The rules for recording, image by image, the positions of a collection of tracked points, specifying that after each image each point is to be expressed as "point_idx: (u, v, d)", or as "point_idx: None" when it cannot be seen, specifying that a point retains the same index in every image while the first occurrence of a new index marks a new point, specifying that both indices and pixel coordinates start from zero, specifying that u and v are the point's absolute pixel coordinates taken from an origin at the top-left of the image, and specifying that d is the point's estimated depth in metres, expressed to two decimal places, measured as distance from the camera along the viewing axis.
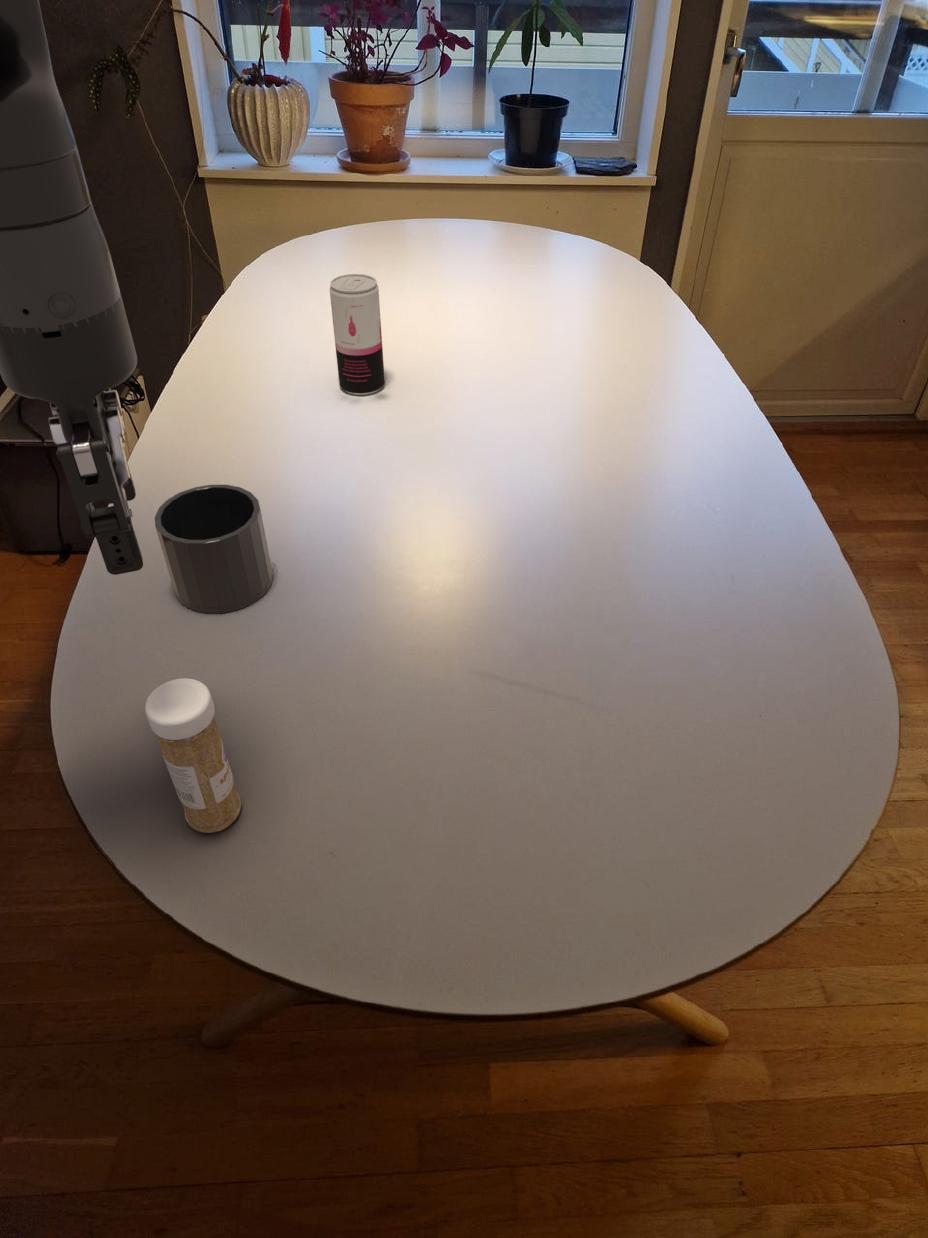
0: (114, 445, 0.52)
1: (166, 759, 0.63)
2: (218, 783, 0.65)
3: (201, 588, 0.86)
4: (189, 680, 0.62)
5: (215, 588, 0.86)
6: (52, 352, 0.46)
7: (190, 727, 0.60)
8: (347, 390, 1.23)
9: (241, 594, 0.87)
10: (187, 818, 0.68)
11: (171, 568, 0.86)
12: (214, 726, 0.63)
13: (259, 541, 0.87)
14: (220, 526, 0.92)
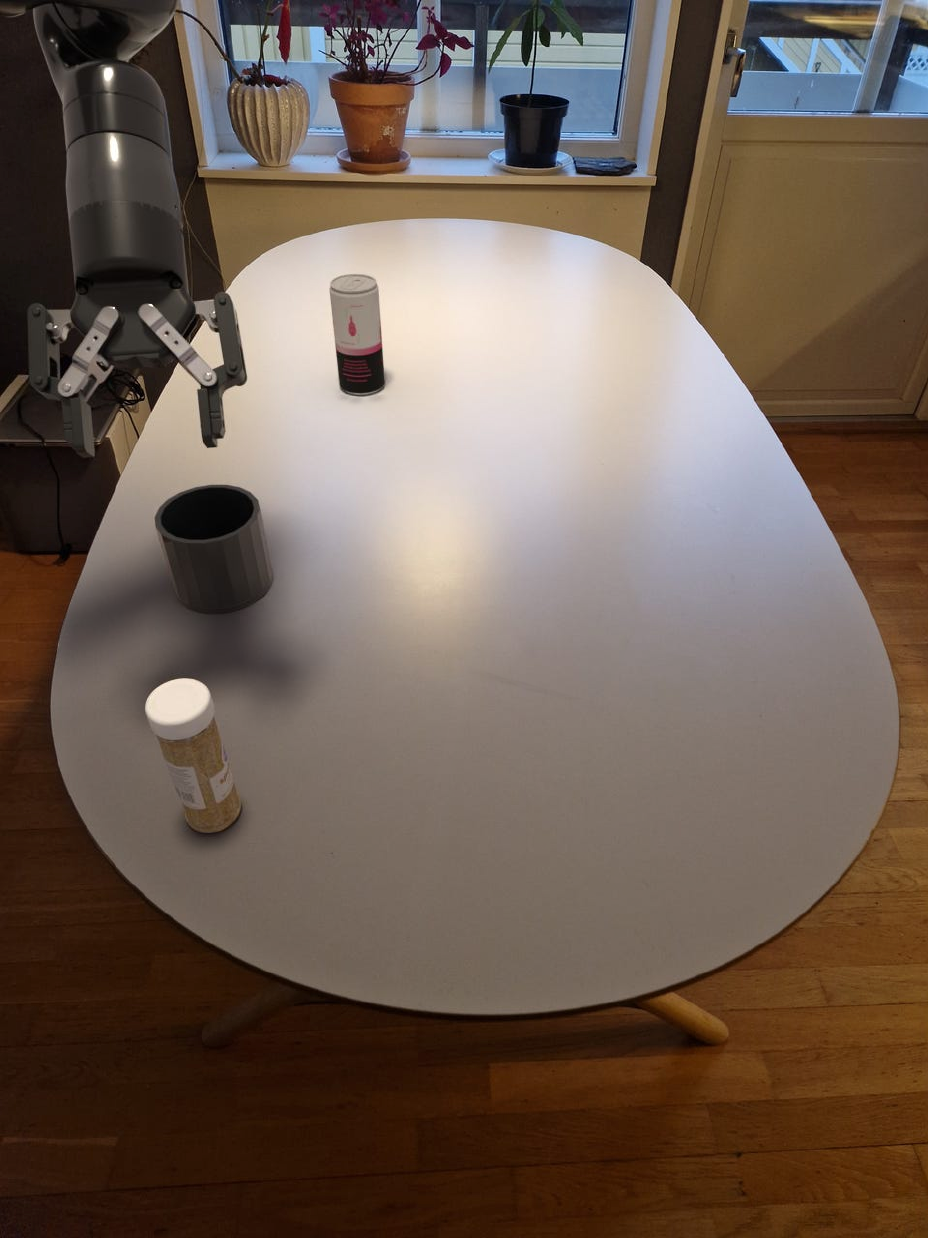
0: None
1: (166, 759, 0.63)
2: (218, 783, 0.65)
3: (201, 588, 0.86)
4: (189, 680, 0.62)
5: (215, 588, 0.86)
6: (182, 242, 0.61)
7: (190, 727, 0.60)
8: (347, 390, 1.23)
9: (241, 594, 0.87)
10: (187, 818, 0.68)
11: (171, 568, 0.86)
12: (214, 726, 0.63)
13: (259, 541, 0.87)
14: (220, 526, 0.92)
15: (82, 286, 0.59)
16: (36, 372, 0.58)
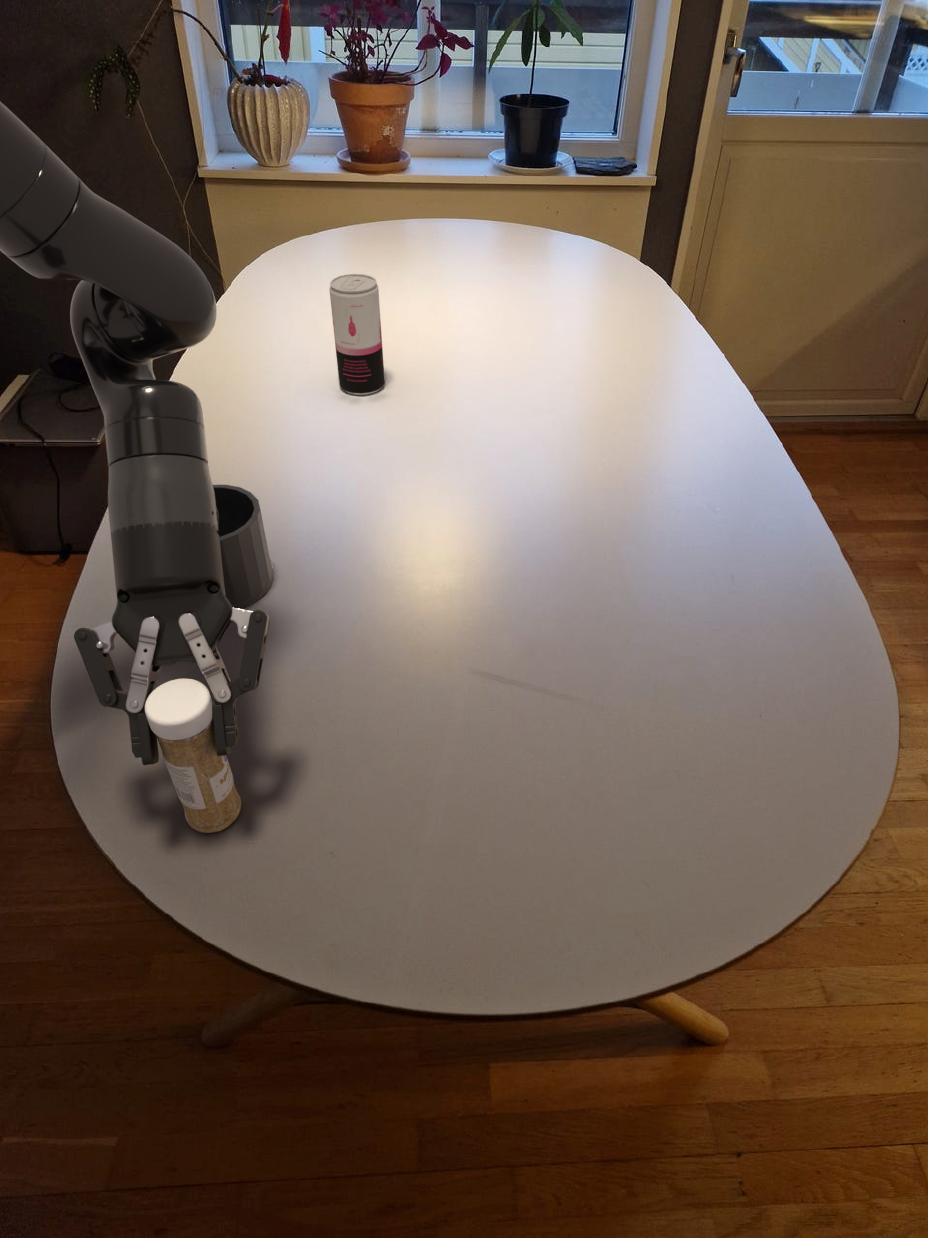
0: None
1: (166, 759, 0.63)
2: (218, 783, 0.65)
3: None
4: (189, 680, 0.62)
5: None
6: (218, 544, 0.63)
7: (190, 727, 0.60)
8: (347, 390, 1.23)
9: (241, 594, 0.87)
10: (187, 818, 0.68)
11: None
12: None
13: (259, 541, 0.87)
14: (220, 526, 0.92)
15: (123, 594, 0.62)
16: (103, 692, 0.61)
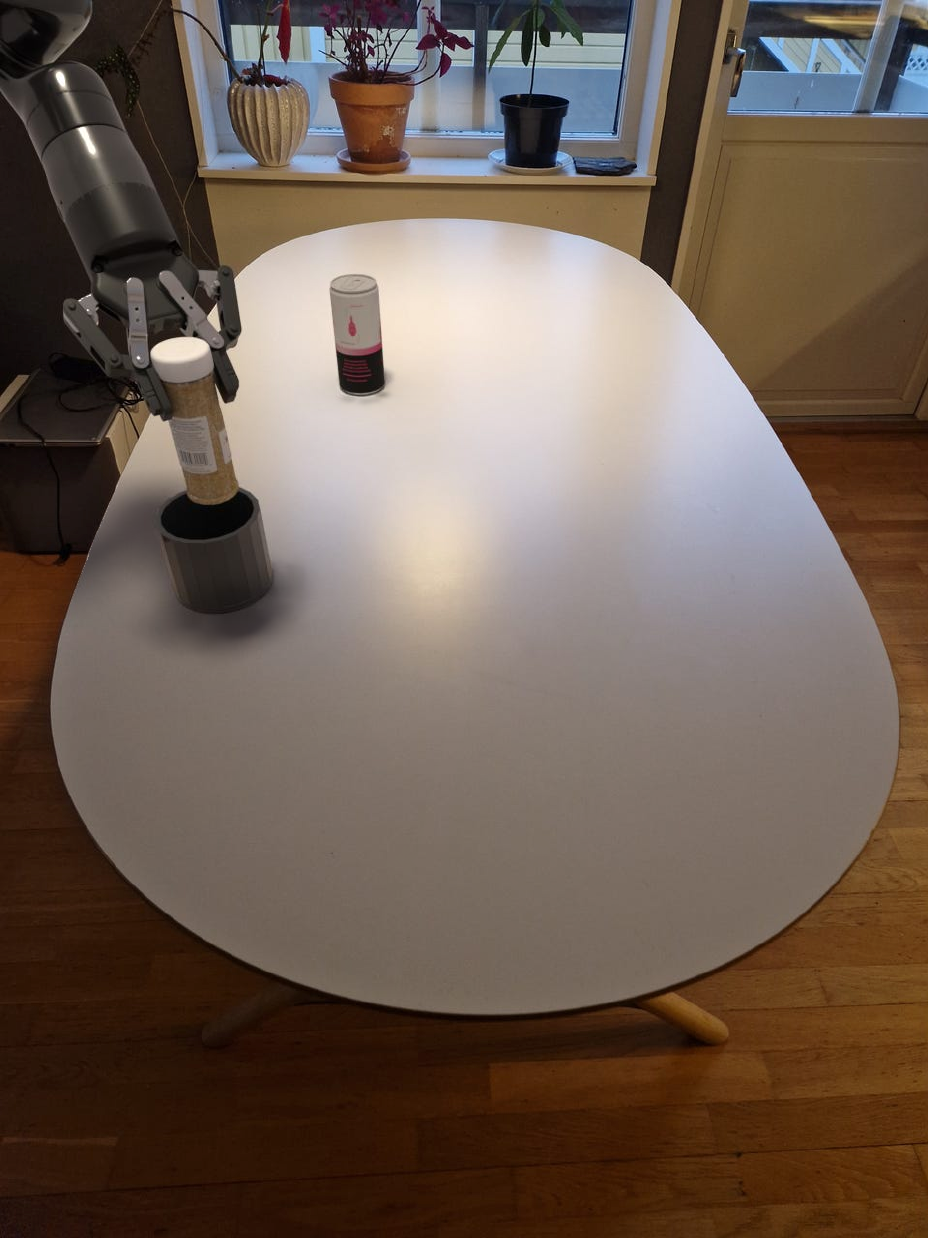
0: None
1: (178, 416, 0.69)
2: (224, 440, 0.72)
3: (201, 588, 0.86)
4: (180, 337, 0.68)
5: (215, 588, 0.86)
6: None
7: (202, 364, 0.66)
8: (347, 390, 1.23)
9: (241, 594, 0.87)
10: (195, 496, 0.74)
11: (171, 568, 0.86)
12: None
13: (259, 541, 0.87)
14: (220, 526, 0.92)
15: (97, 265, 0.66)
16: (108, 353, 0.65)
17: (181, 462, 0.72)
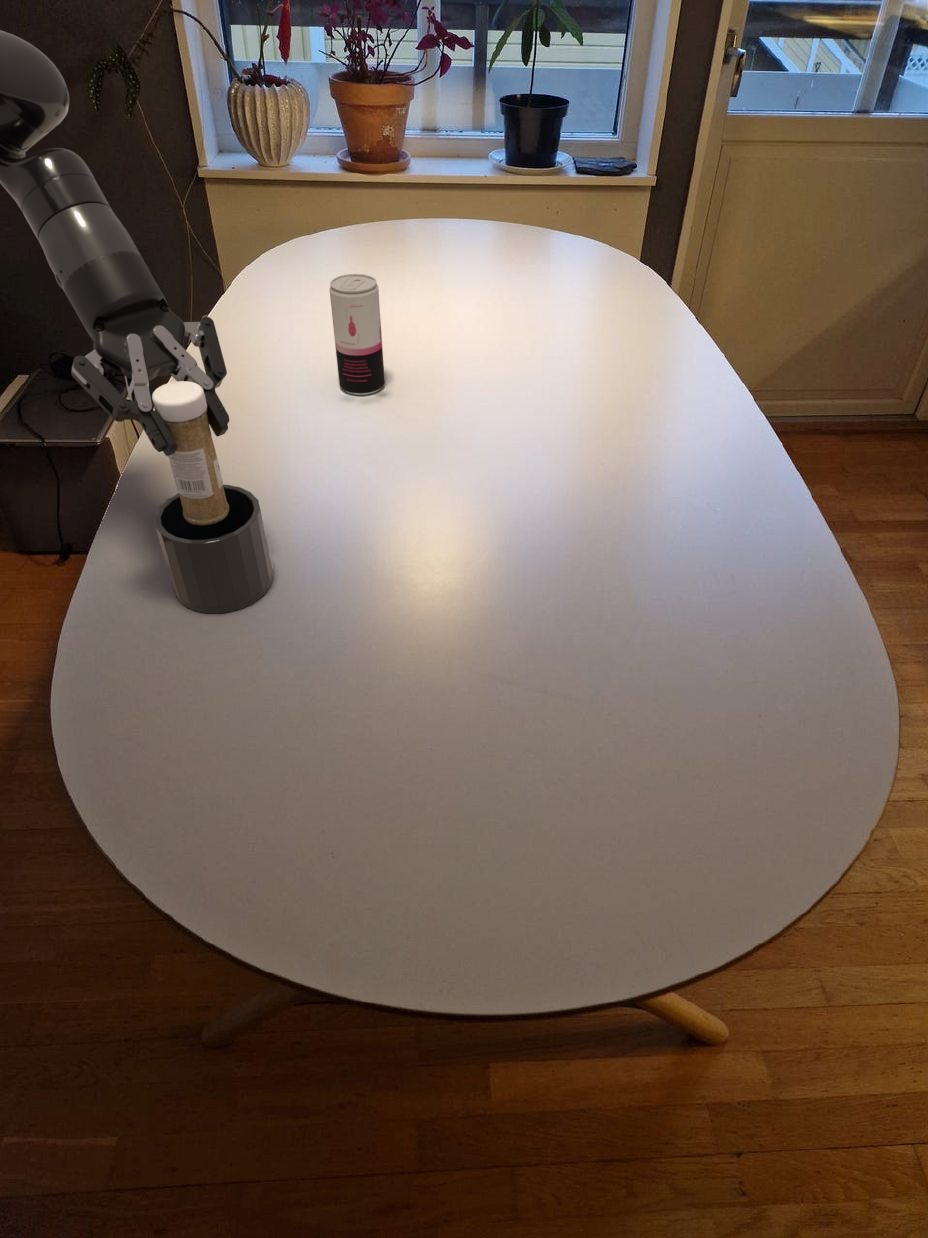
0: None
1: (178, 450, 0.79)
2: (218, 468, 0.82)
3: (201, 588, 0.86)
4: (174, 382, 0.78)
5: (215, 588, 0.86)
6: None
7: (200, 404, 0.77)
8: (347, 390, 1.23)
9: (241, 594, 0.87)
10: (193, 518, 0.84)
11: (171, 568, 0.86)
12: None
13: (259, 541, 0.87)
14: (220, 526, 0.92)
15: (98, 325, 0.75)
16: (117, 400, 0.75)
17: (180, 490, 0.82)
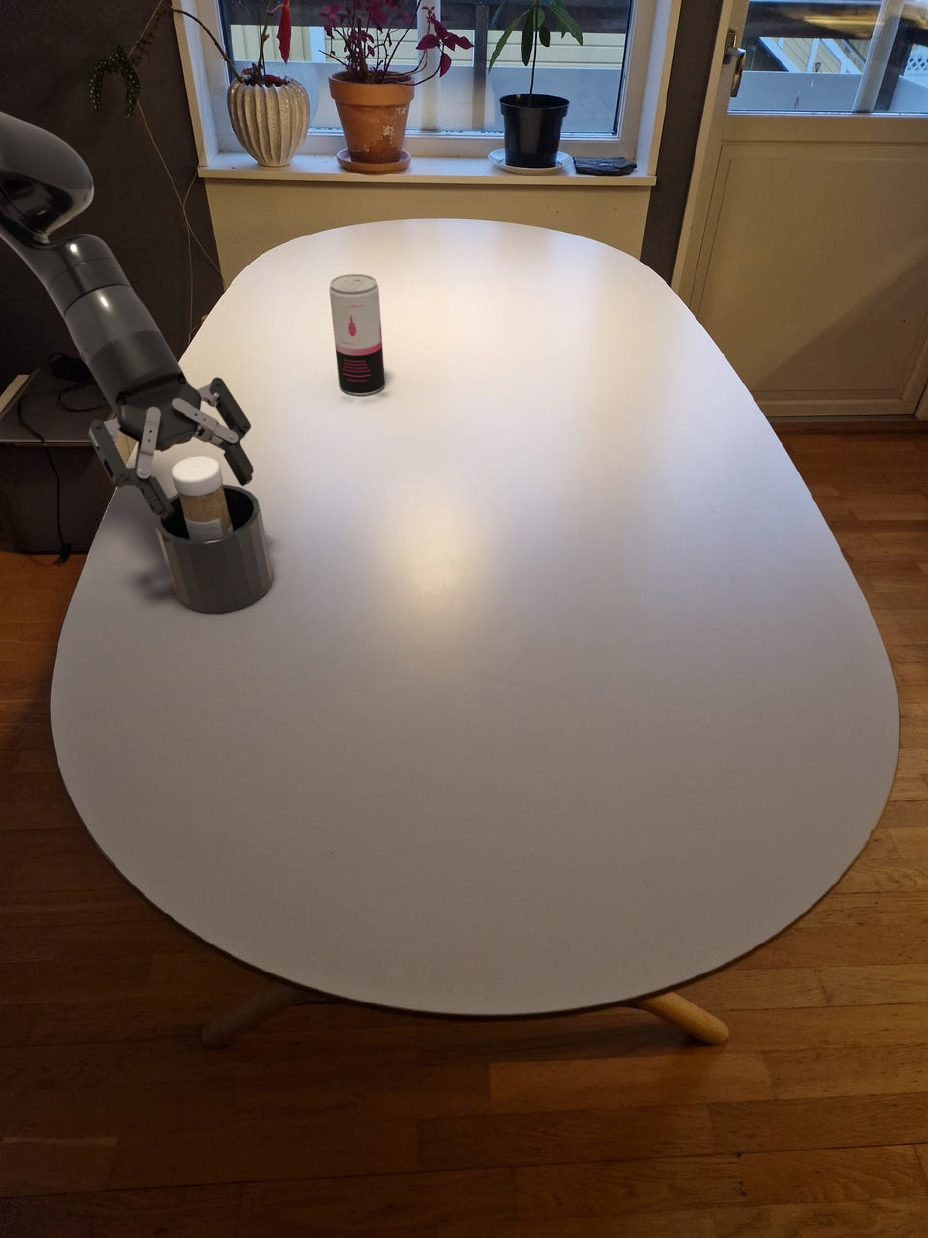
0: None
1: (196, 521, 0.84)
2: None
3: (201, 588, 0.86)
4: (192, 457, 0.84)
5: (215, 588, 0.86)
6: None
7: (216, 479, 0.82)
8: (347, 390, 1.23)
9: (241, 594, 0.87)
10: None
11: (171, 568, 0.86)
12: None
13: (259, 541, 0.87)
14: None
15: (120, 399, 0.80)
16: (118, 467, 0.79)
17: None
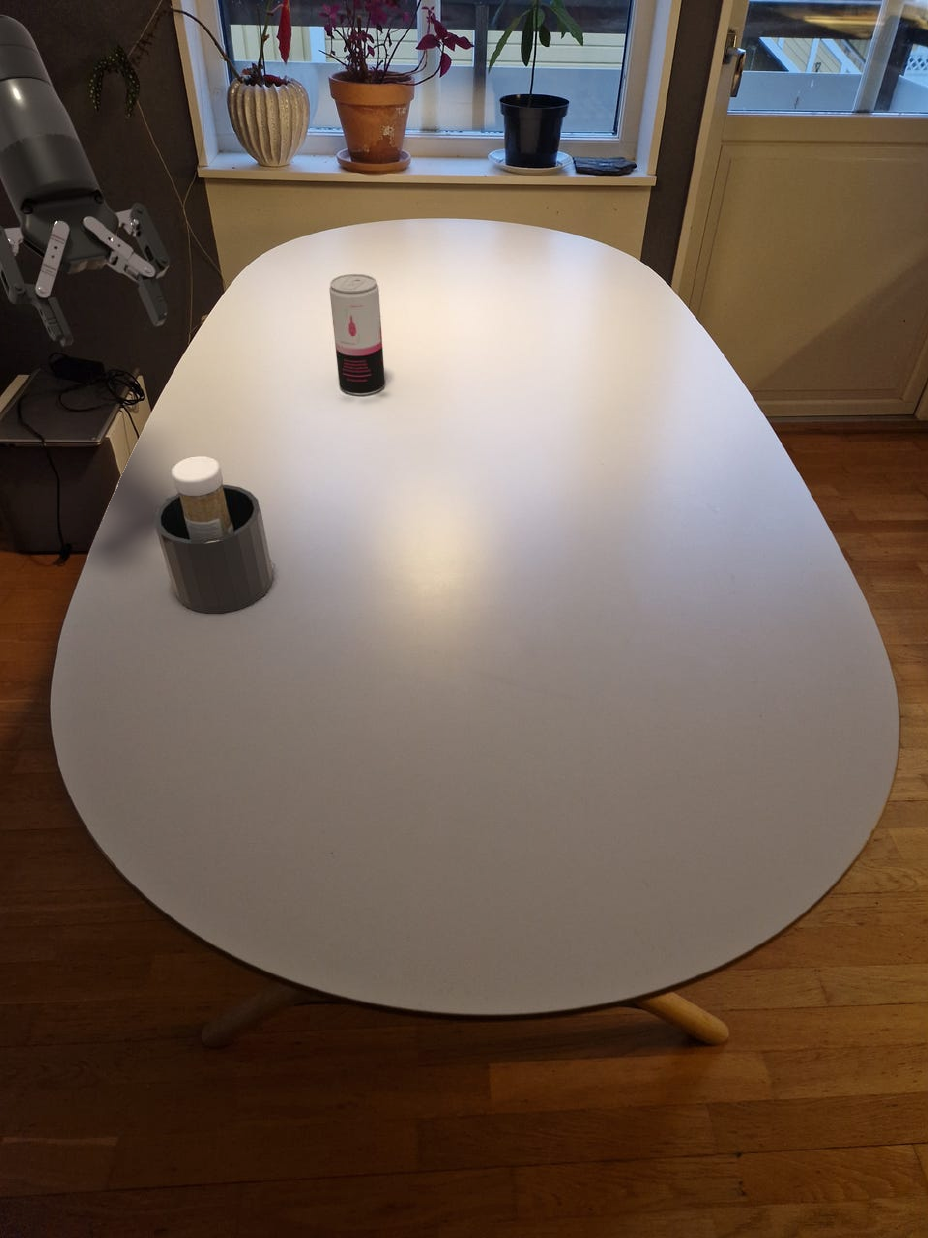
0: None
1: (196, 521, 0.84)
2: None
3: (201, 588, 0.86)
4: (192, 457, 0.84)
5: (215, 588, 0.86)
6: None
7: (216, 479, 0.82)
8: (347, 390, 1.23)
9: (241, 594, 0.87)
10: None
11: (171, 568, 0.86)
12: None
13: (259, 541, 0.87)
14: None
15: (26, 207, 0.74)
16: (14, 280, 0.73)
17: None
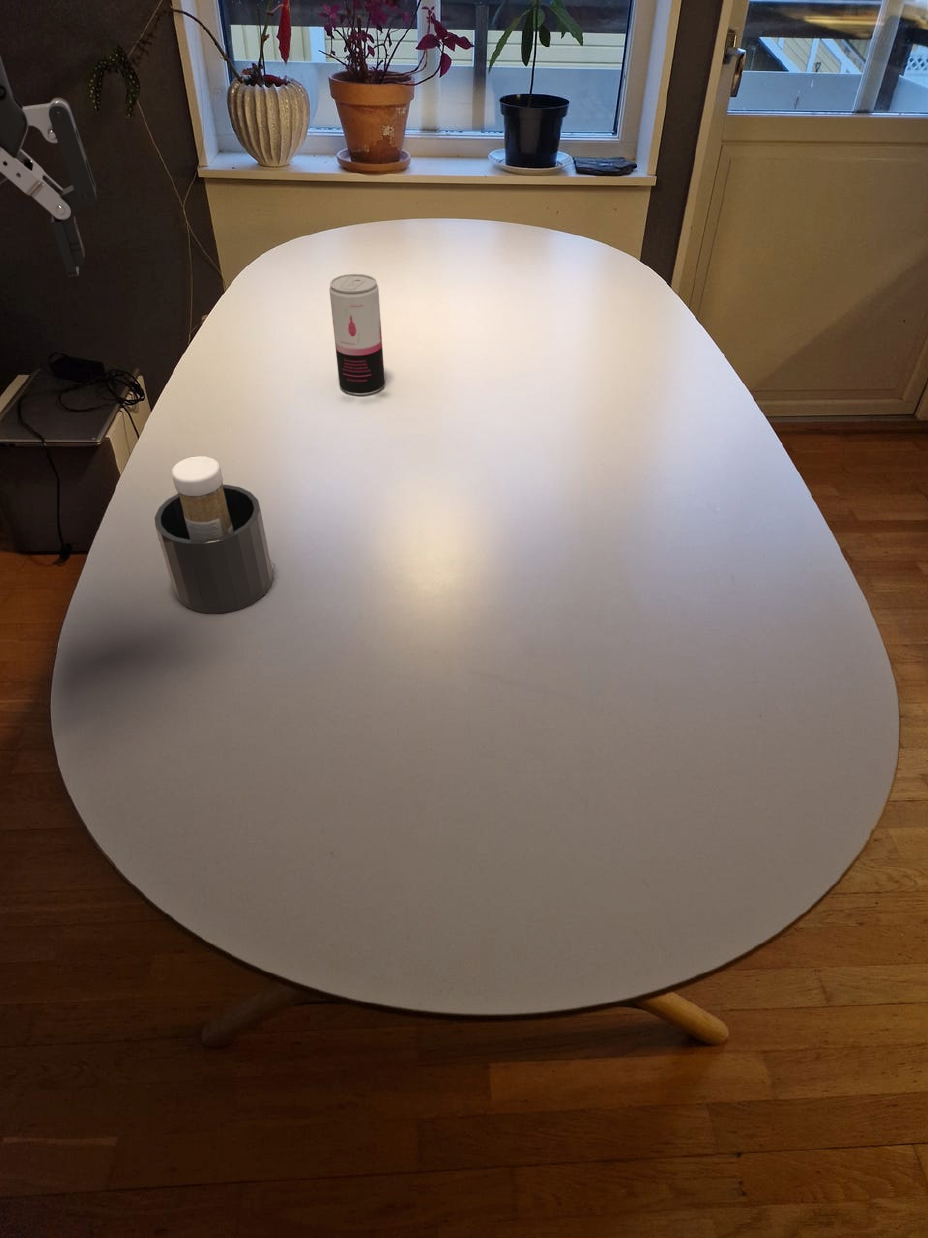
0: None
1: (196, 521, 0.84)
2: None
3: (201, 588, 0.86)
4: (192, 457, 0.84)
5: (215, 588, 0.86)
6: None
7: (216, 479, 0.82)
8: (347, 390, 1.23)
9: (241, 594, 0.87)
10: None
11: (171, 568, 0.86)
12: None
13: (259, 541, 0.87)
14: None
15: None
16: None
17: None
